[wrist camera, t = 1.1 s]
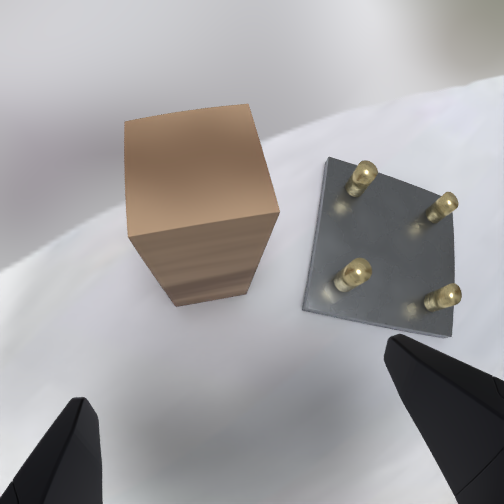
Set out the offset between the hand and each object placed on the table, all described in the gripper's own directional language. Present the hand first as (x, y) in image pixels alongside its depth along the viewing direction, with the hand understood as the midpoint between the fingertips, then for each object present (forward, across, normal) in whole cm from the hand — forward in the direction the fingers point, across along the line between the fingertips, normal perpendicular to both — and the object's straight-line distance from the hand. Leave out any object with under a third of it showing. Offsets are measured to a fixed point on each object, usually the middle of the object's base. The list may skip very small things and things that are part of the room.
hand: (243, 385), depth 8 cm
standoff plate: (+14, -15, +5) cm, 21 cm away
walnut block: (+15, 0, +4) cm, 15 cm away
